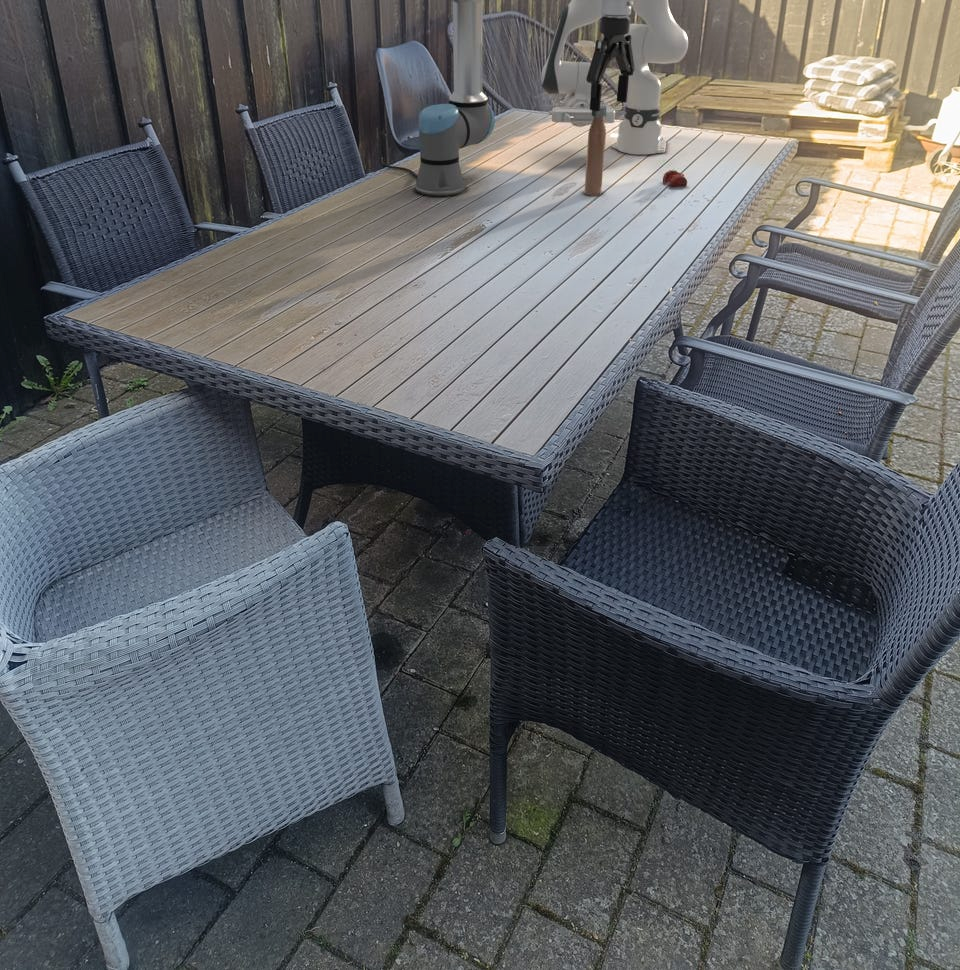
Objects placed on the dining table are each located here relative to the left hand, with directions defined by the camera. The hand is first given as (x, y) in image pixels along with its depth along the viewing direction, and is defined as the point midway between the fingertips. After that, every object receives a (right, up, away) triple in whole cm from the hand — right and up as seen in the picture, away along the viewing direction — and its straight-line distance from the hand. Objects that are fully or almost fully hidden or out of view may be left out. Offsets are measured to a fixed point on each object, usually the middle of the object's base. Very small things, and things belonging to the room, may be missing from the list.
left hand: (608, 106), depth 226 cm
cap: (0, +7, +16) cm, 17 cm away
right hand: (-1, +13, +38) cm, 40 cm away
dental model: (+26, -8, +36) cm, 46 cm away
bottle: (0, -13, +30) cm, 33 cm away
